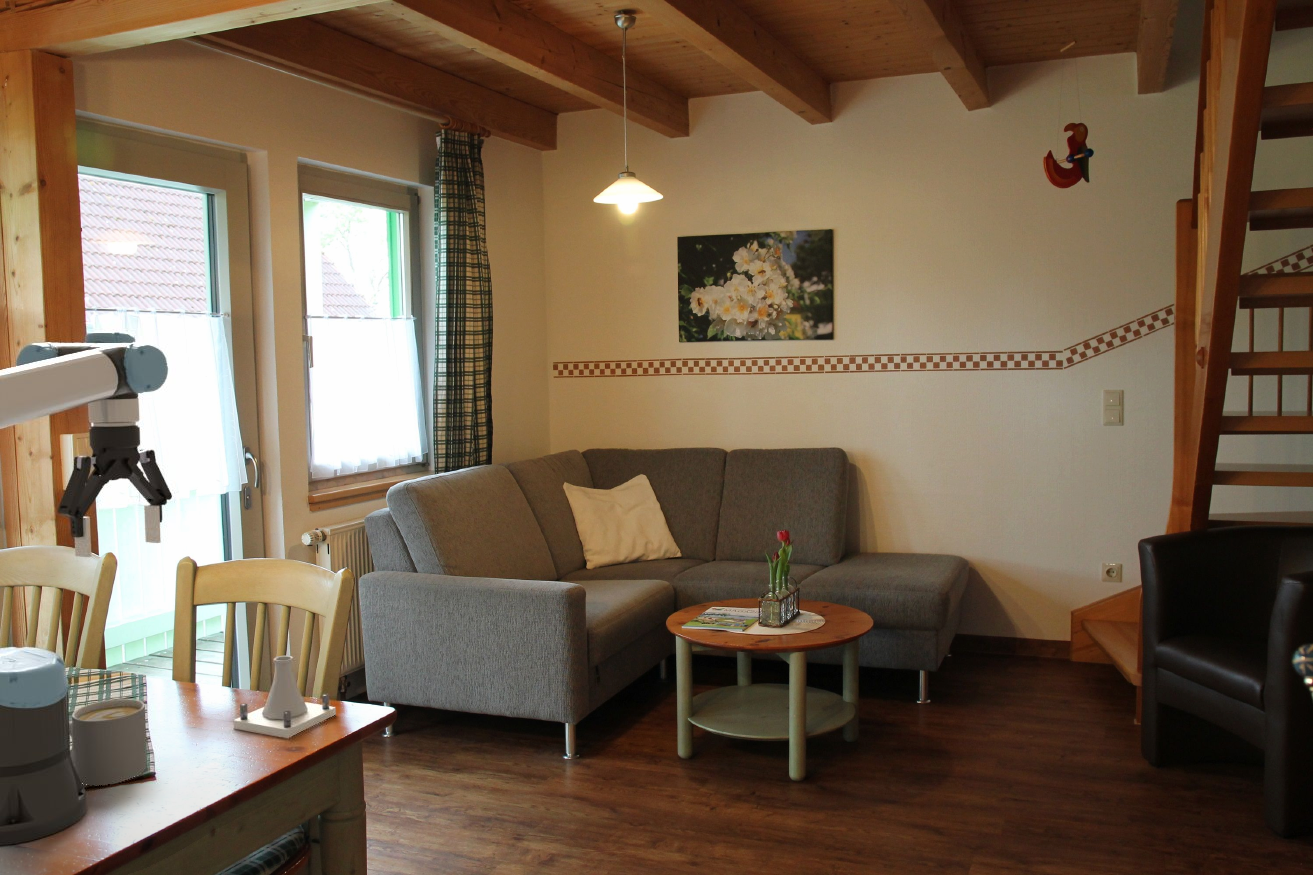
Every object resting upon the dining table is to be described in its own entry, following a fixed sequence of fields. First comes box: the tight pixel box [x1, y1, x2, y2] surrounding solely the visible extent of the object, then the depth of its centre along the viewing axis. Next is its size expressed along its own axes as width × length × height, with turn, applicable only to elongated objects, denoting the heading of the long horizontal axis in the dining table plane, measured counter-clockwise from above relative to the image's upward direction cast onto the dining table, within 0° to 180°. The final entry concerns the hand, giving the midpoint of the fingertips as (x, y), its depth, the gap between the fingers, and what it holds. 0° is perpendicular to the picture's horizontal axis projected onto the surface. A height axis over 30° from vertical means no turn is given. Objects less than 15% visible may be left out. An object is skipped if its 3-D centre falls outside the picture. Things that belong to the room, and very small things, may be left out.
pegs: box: [239, 693, 330, 728], centre depth 179 cm, size 11×11×2 cm
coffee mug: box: [69, 698, 148, 787], centre depth 157 cm, size 13×10×10 cm
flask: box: [262, 655, 308, 719], centre depth 179 cm, size 7×7×10 cm
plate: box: [233, 701, 337, 739], centre depth 179 cm, size 12×12×2 cm
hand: (119, 549), depth 172 cm, fingers open, 13 cm apart
